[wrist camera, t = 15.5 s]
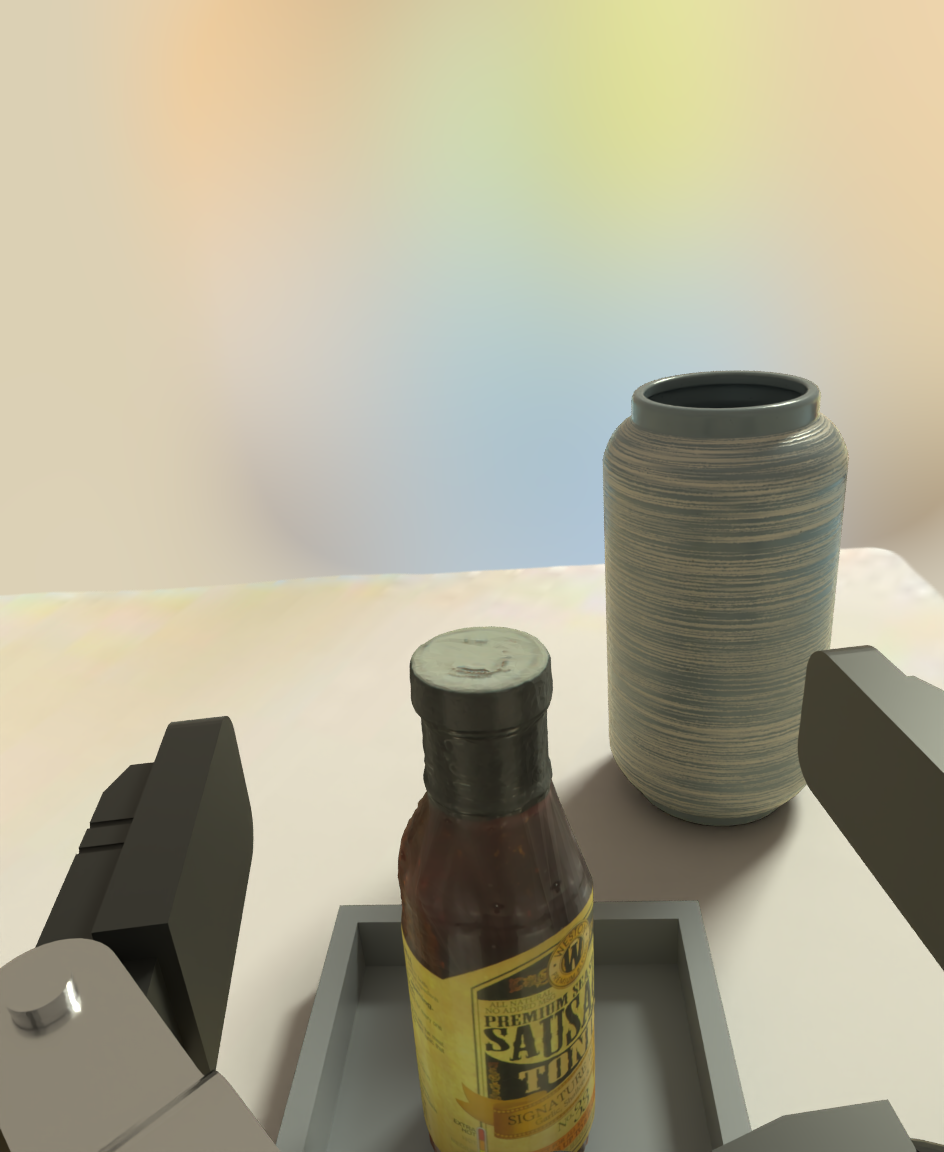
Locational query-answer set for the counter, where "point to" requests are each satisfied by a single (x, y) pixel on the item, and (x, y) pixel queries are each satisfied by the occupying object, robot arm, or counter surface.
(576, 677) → the counter surface
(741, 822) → the vase
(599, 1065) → the tray
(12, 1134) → the robot arm
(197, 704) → the counter surface
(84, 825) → the counter surface
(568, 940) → the sauce bottle
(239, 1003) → the counter surface
